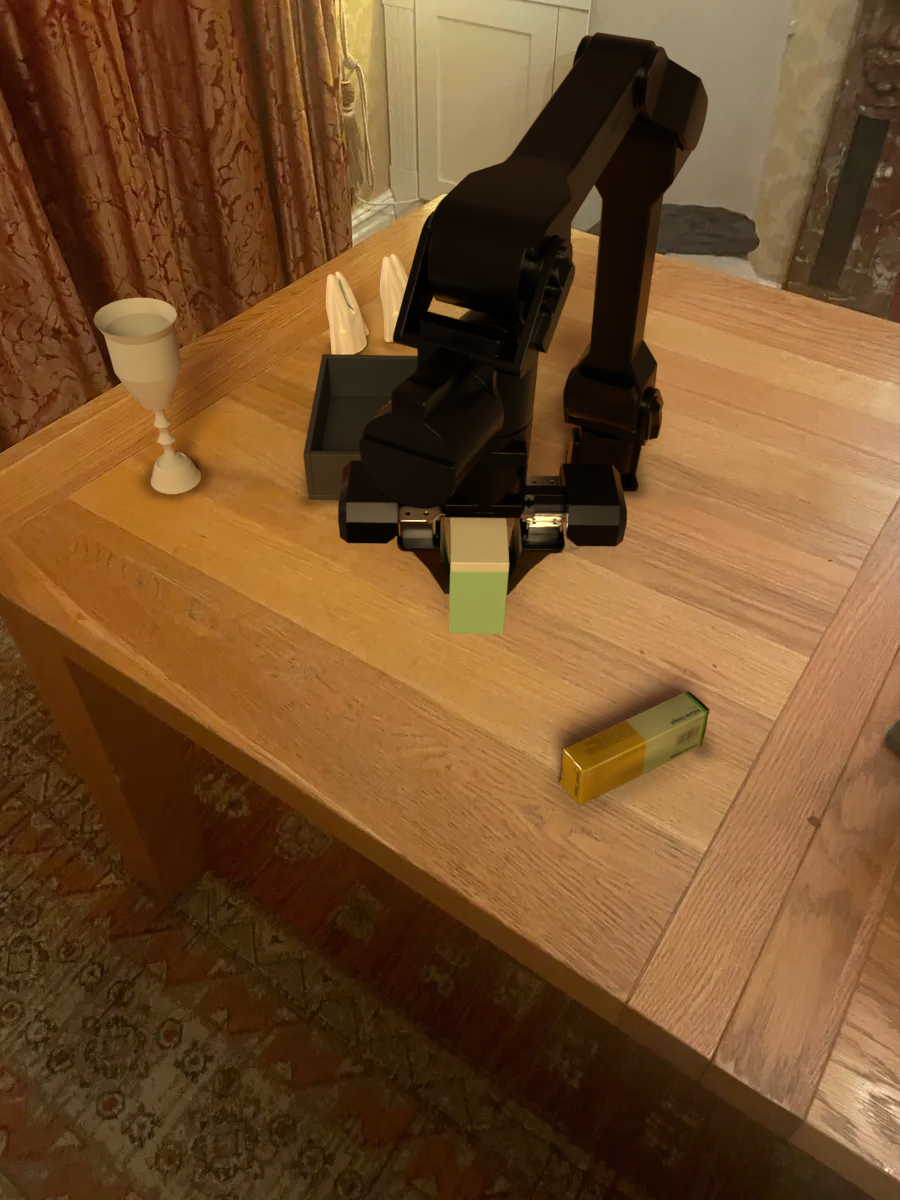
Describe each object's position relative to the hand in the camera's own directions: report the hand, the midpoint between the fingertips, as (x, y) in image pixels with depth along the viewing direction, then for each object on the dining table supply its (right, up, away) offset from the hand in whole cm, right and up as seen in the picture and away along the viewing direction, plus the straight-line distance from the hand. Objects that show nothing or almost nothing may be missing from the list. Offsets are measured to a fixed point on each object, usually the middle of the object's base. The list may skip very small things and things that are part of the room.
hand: (476, 590), depth 67 cm
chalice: (-30, +12, +26) cm, 41 cm away
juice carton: (0, -1, +1) cm, 2 cm away
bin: (-9, +16, +30) cm, 35 cm away
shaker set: (-11, +31, +45) cm, 56 cm away
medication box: (+12, -13, +3) cm, 18 cm away
